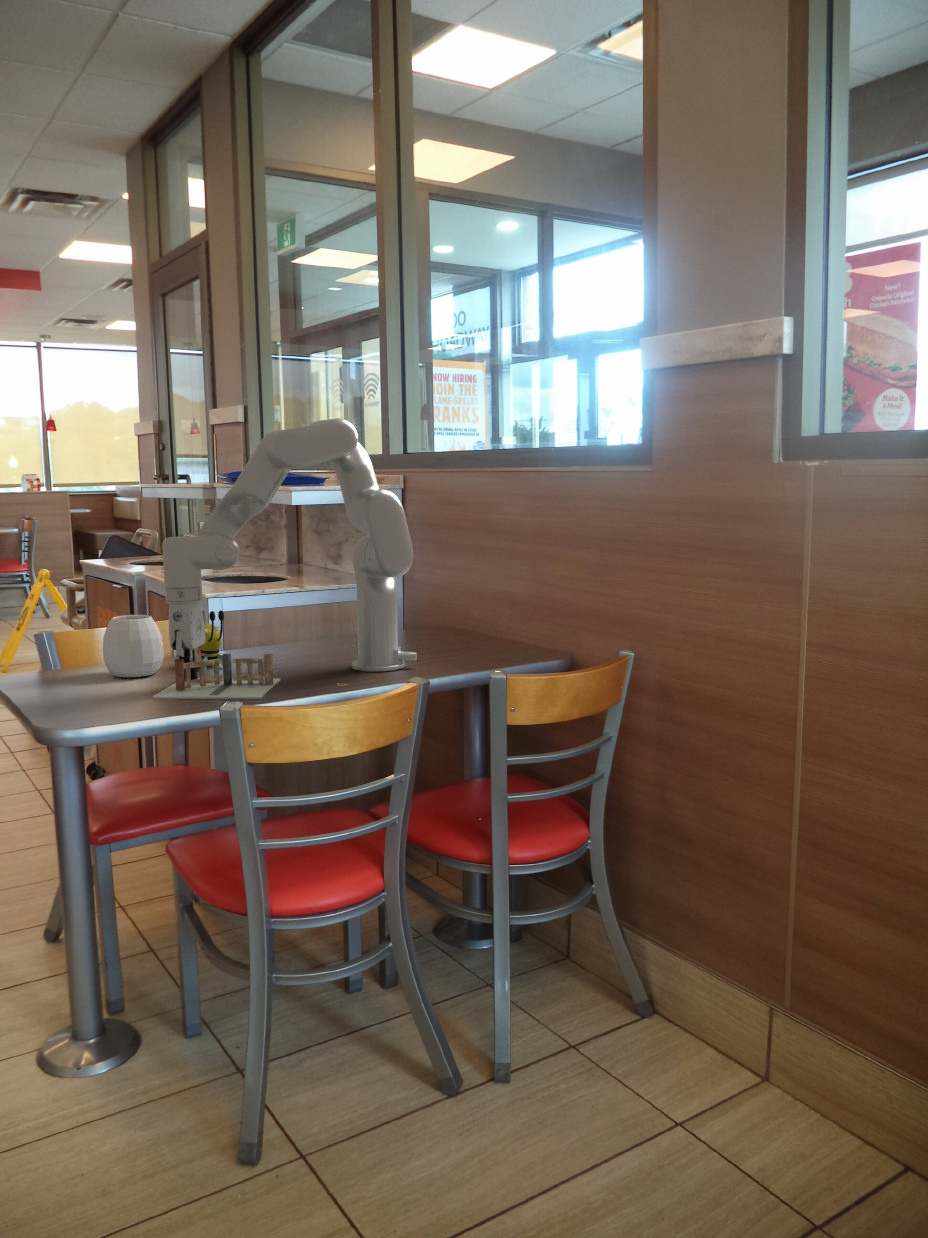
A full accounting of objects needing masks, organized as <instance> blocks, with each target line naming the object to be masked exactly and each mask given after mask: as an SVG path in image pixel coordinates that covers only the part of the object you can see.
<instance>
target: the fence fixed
mask: <svg viewBox="0 0 928 1238" xmlns="http://www.w3.org/2000/svg"><path fill="white" fill-rule="evenodd" d="M221 655H223V666H222V671H223V672H222V673H223V674H222V677H223V680H224V685H232V678H233V681H237V685H241V684H242V681H248V685H252V684H253V681H259V685H263V684H264V681H265V685H273V678H274V664H273V663H274V662H273V661H274V657H273V653H264V654H263V657H233V658H232V654H231V653H223V654H221ZM233 664H235V668H236V669H235V672H236V674H234V675H233V672H232V671H233V670H232V667H233V666H232V665H233ZM242 664H246V669H247V670H246V673H247V675H246V674H245V675H243V674H242V673H243V672H242ZM253 664H257V668H258V675H256V674H255V675H253V673H254V672H253V671H254V670H253Z"/></svg>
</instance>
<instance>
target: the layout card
mask: <svg viewBox="0 0 928 1238" xmlns="http://www.w3.org/2000/svg"><path fill="white" fill-rule="evenodd" d="M197 679H200V677H199V678H198V677H197ZM280 681H281V678H278V677H277V678H274V677H273V685H265V681H264V684H263V685H259V681H253V684H252V685H248V681H242V684H241V685H237V681H233V677H232V685H224V680H223V681H222V682H220V684H217V685H216V684H214V683H207V684H206V686H202V687H201V686H200V684H199V685H192V686H191V688H185V690H176V682H175V683H173V684H172V685H169V686H168V687H166V688H165V689H163V690H161V691H160V692H157V694H155V695H154V696H152V699H153V700H154V699H155V700H156V699H159V700H160V699H164V700H166V699H169V700H170V699H171V700H173V699H174V700H176V699H179V700H180V699H181V700H182V699H183V700H185V699H186V700H187V699H188V700H189V699H190V700H193V699H196V700H200V699H201V700H218V699H219V700H220V699H221V700H224V699H225V700H226V699H227V700H243V699H244V700H260V699H262V698H263V697H264V696H265V695H266V694H267V693H268V692H269V691H271V690H272V689H273V688H274V687H275V686H276V685H277V684H278V683H280Z"/></svg>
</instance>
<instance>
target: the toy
mask: <svg viewBox="0 0 928 1238" xmlns="http://www.w3.org/2000/svg"><path fill="white" fill-rule="evenodd" d="M217 616H218V619H219V621H220V628H219V627H218V626H216V625H214V624H215V620H216V613H215V612H214V611H213V610H211V611H210V612H209V615H208V617H209V620H210V622H211V623H204V626H205V637H206V641H205V643H204V644H203V645H202V646H200V651H199V654H200V659H201V661H207V660H215V659H222V664H220V665H221V666H222V667H223V655H222V654H221V652H220V648H221V645H222V643H223V638H222V635H223V630H224V629H223V627H224V619H225V614H224V611H223V610H219V611H218V612H217ZM209 667H213V665H210V666H209ZM206 670H207V666H205V672H206Z"/></svg>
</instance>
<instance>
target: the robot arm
mask: <svg viewBox="0 0 928 1238" xmlns="http://www.w3.org/2000/svg"><path fill="white" fill-rule="evenodd" d="M258 443H259V444H258V445H257V446H256V448H255V450H254V451H253V453H252V455H251V456H250V458H249V460H248V461H247V462H246V464H245V466H244V468H243V470H242V471H241V473H240V474H239V476H238V477H237V479H236V481H235V482H234V484H233V485H232V486H231V488H230V489H229V490H228V491H227V492H226V493H225V495H224V496H223V497H222V499H221V500H220V501H219V502H218V503H217V504H216V505H215V507H214V508H213V509H212V510H211V512H210V513H209V514H208V516H207V517H206V519H205V520H204V522H203V524H202V526H201V528H199V530H198V532H197V534H196V535H195V537H194V536H184V535H183V536H182V535H181V536H169V537H166V538H165V539H164V540H163V541H162V549H161V550H162V564H163V565H162V566H163V579H164V580H163V581H164V596H165V604H168V637H169V639H168V640H169V646H170V649H172V650H173V651H175V657H177V659H184V663H190V662H197V660H198V659H197V654H198V653H197V650H198V648H199V647H200V646H202V645H203V644H204V643H205V641H206V637H205V626H204V624H205V617H204V610H203V605H202V602H203V601H204V600H203V585H202V570H212V571H213V570H215V571H223V570H228V569H230V568H232V567H233V566H235V565H236V564H237V562H238V561H239V559H240V555H241V550H240V547H239V544H238V542H237V541H236V540H235V537H236V536H237V534H238V533H239V532H240V530H241V529H242V528H243V527H244V525H246V524H247V522H249V521H250V520H251V519H253V518H254V517H255V516H258V515H259V514H261V513H262V512H263V511H264V510H265V509H267V507H268V506H270V505H271V504H270V503H271V502H272V500H273V499H274V497H275V495H276V494H277V492H278V490H279V489H280V487H281V485H282V484H283V482H284V480H285V479H286V477H287V476H288V474H289V472H290V471H291V470H297V469H302V468H303V469H304V468H307V467H312V466H316V465H321V464H323V463H328V464H329V465H330V466H331V468H332V469H333V470H334V472H335V474H336V477H337V480H338V483H339V487H340V490H341V495H342V499H343V502H344V507H345V511H346V515H347V518H348V520H349V521H348V522H350V524H351V525H352V526H354V528H356V529H359V530H364V531H368V534H366V535H364V536H362V537H361V538H360V539H359V540H357V542H356V543H355V545H354V547H353V551H352V565H353V570H354V576H355V585H356V616H357V617H356V620H357V622H356V623H357V625H356V626H357V660H353V661H352V662H351V669H353V670H356V671H360V672H390V671H397V670H400V669H401V670H402V669H403V668H405V666H406V662H405V661H417V658H418V655H417V654H418V653H417V652H416V651H404V650H401V646H400V645H399V641H398V640H399V637H398V632H399V631H398V628H399V626H398V625H399V624H398V587H397V582H396V578H400V577H403V576H404V575H406V574H407V573H408V572H409V570H410V569H411V568H412V564H413V562H414V548H413V547H414V546H413V544H412V542H413V541H412V538H411V534H410V531H409V527H408V526H409V525H408V522H407V518H406V514H405V509H404V506H403V504H402V503H401V500H400V499H399V497H398V496H397V495H396V494H395V493H393V492H392V491H390V490H388V489H385V488H380V486H379V482H378V479H377V475H376V473H375V469H374V465H373V462H372V459H371V458H370V455H369V454H368V452H367V450H366V449H365V448H364V447H363V445H362V444H361V443H360V442H359V433H358V431H357V429H356V427H355V426H354V425H353V423H351V422H350V421H348V420H347V419H343V418H330V419H322V420H317V421H314V422H312V423H310V424H309V425H303V426H299V427H293V428H287V429H285V428H284V429H280V430H279V429H278V430H274V431H270V432H269V433H267V434H266V435H265V436H264V437H263V438H262V439H260V442H258ZM200 648H201V647H200ZM190 673H191V680H196V679H197V678H198V667H193V668H190ZM184 679H185V669H184Z"/></svg>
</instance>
